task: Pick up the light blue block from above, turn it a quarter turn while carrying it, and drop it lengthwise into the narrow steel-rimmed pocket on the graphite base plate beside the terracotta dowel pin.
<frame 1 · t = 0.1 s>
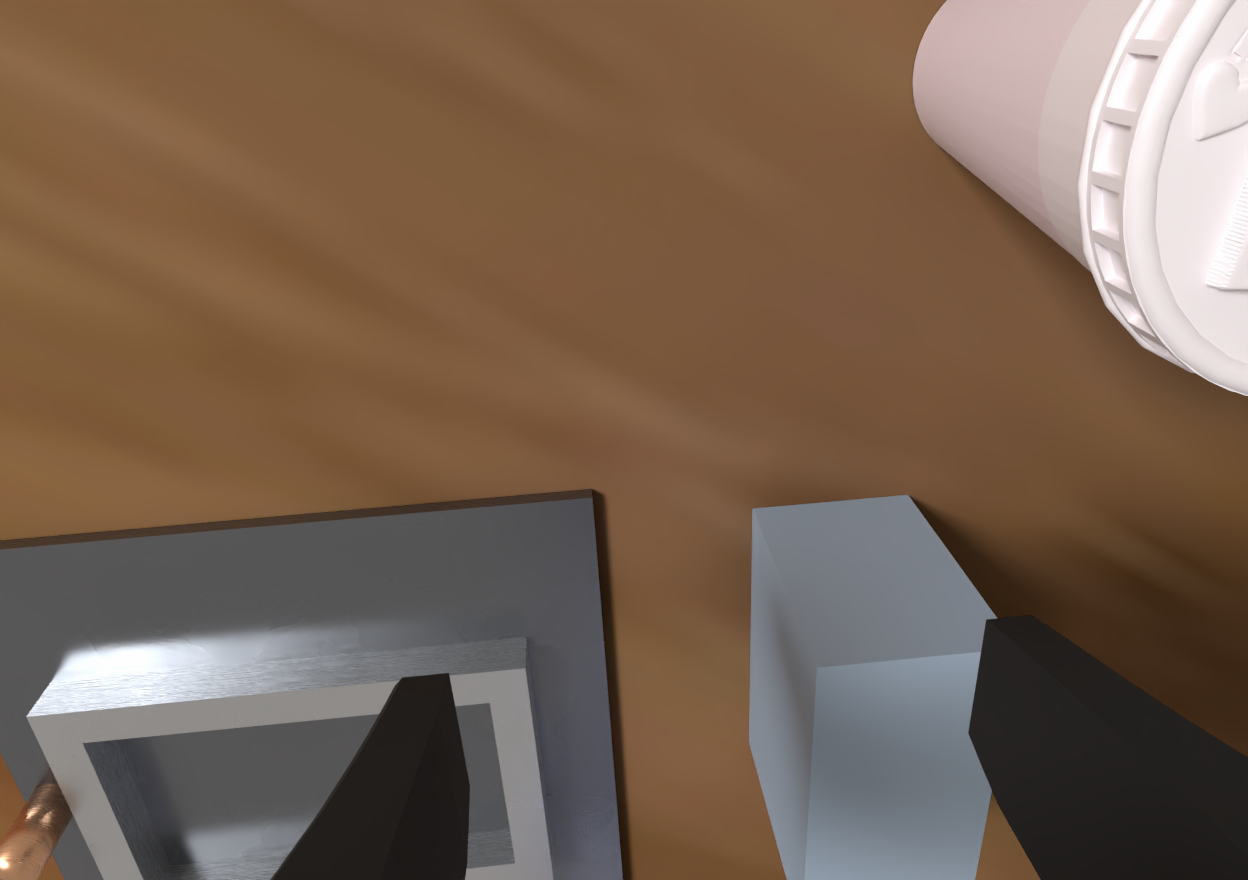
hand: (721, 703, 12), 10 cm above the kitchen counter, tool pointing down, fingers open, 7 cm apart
pocket plate: (326, 760, 25), on the kitchen counter
light blue block: (822, 625, 24), on the kitchen counter
smoothie: (997, 67, 18), on the kitchen counter
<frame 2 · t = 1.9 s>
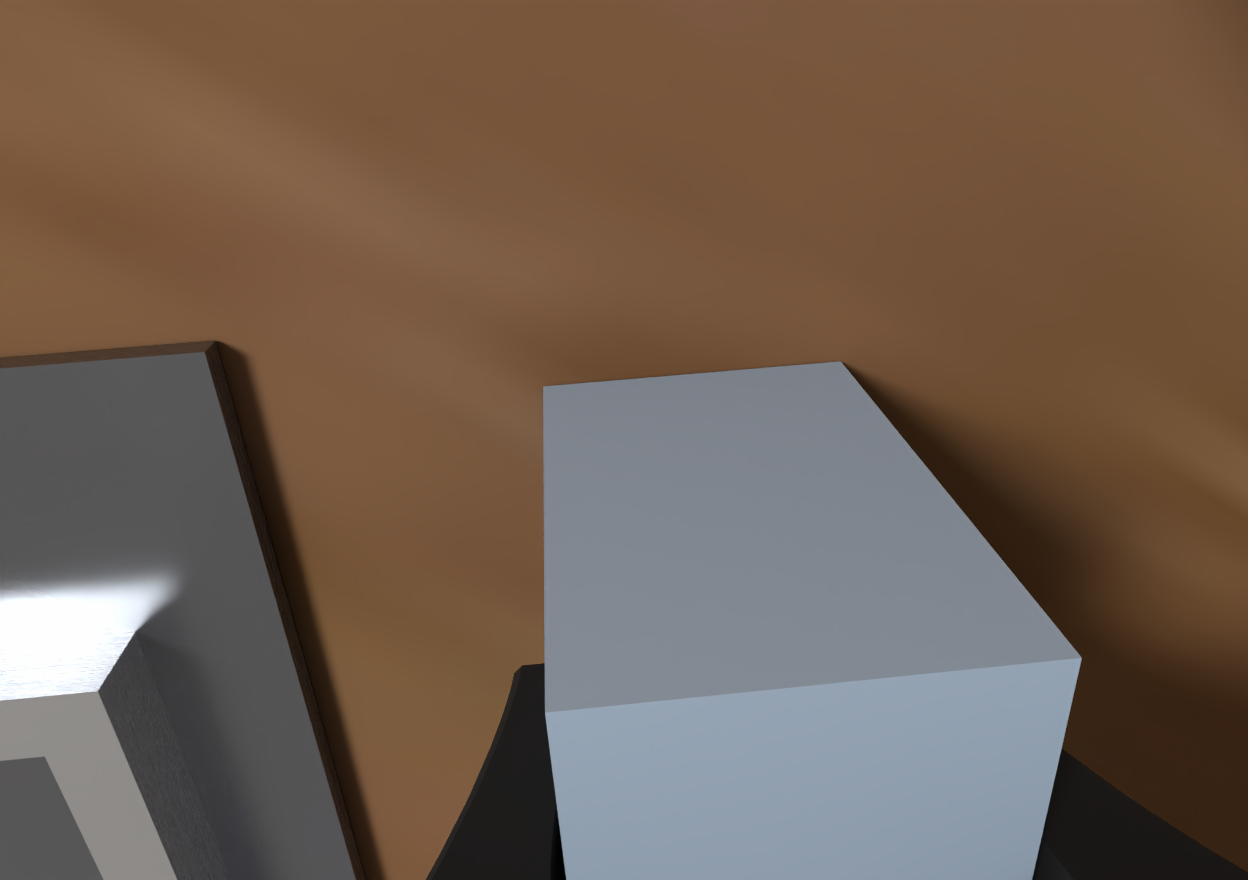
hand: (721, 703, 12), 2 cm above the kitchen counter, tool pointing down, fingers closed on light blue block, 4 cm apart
light blue block: (698, 614, 14), on the kitchen counter, touching gripper
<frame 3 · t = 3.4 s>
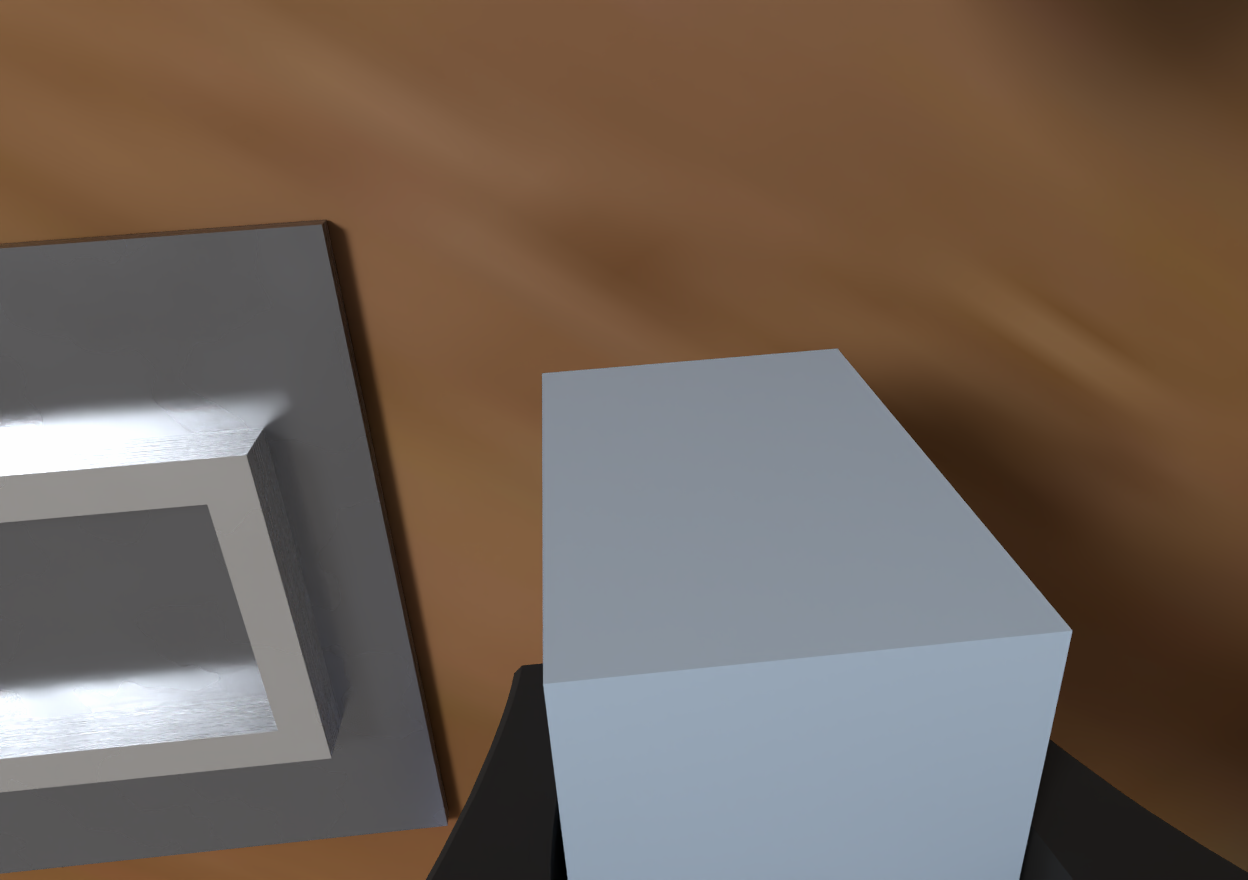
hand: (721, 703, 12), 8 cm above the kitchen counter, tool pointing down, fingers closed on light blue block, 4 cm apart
pocket plate: (40, 602, 20), on the kitchen counter
light blue block: (696, 601, 14), point 6 cm above the kitchen counter, touching gripper
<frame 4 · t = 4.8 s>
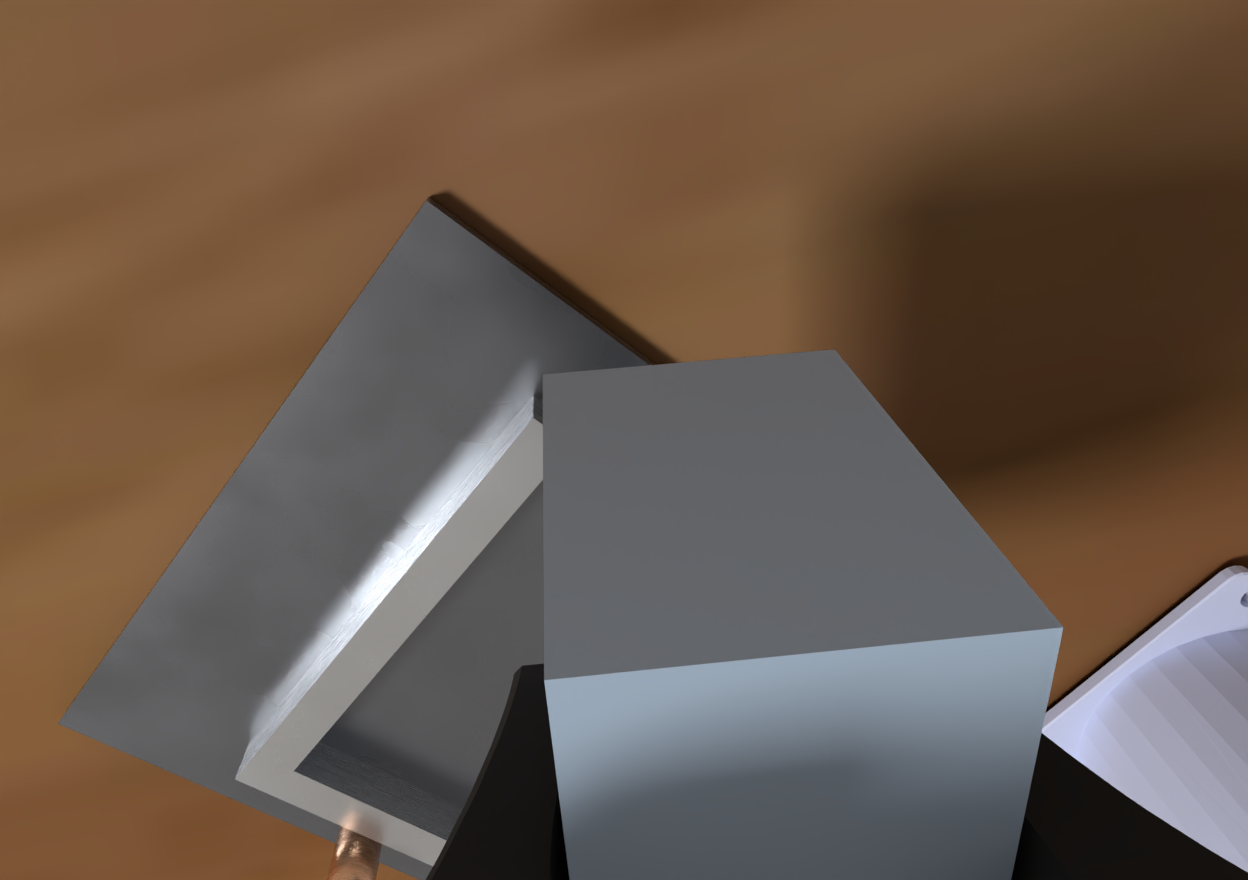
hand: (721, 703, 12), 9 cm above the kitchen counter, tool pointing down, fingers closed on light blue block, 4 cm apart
pocket plate: (519, 650, 22), on the kitchen counter
light blue block: (696, 600, 14), point 7 cm above the kitchen counter, touching gripper
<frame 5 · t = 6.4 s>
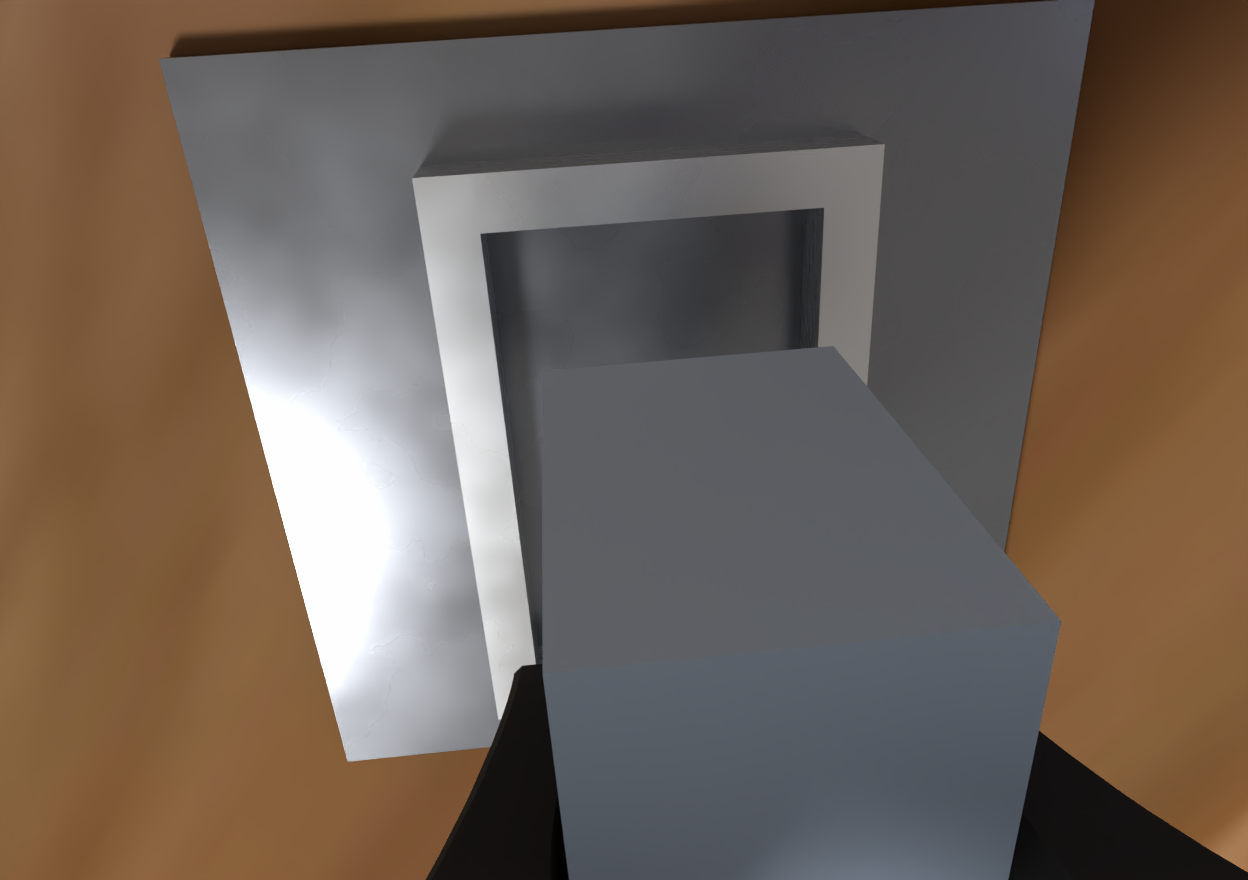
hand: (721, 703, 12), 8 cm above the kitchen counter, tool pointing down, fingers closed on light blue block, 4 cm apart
pocket plate: (655, 436, 19), on the kitchen counter
light blue block: (695, 597, 14), point 6 cm above the kitchen counter, touching gripper
when the fingers open (4 cm above the kitchen counter, at t = 7.6 s): light blue block drops 1 cm, resting on pocket plate.
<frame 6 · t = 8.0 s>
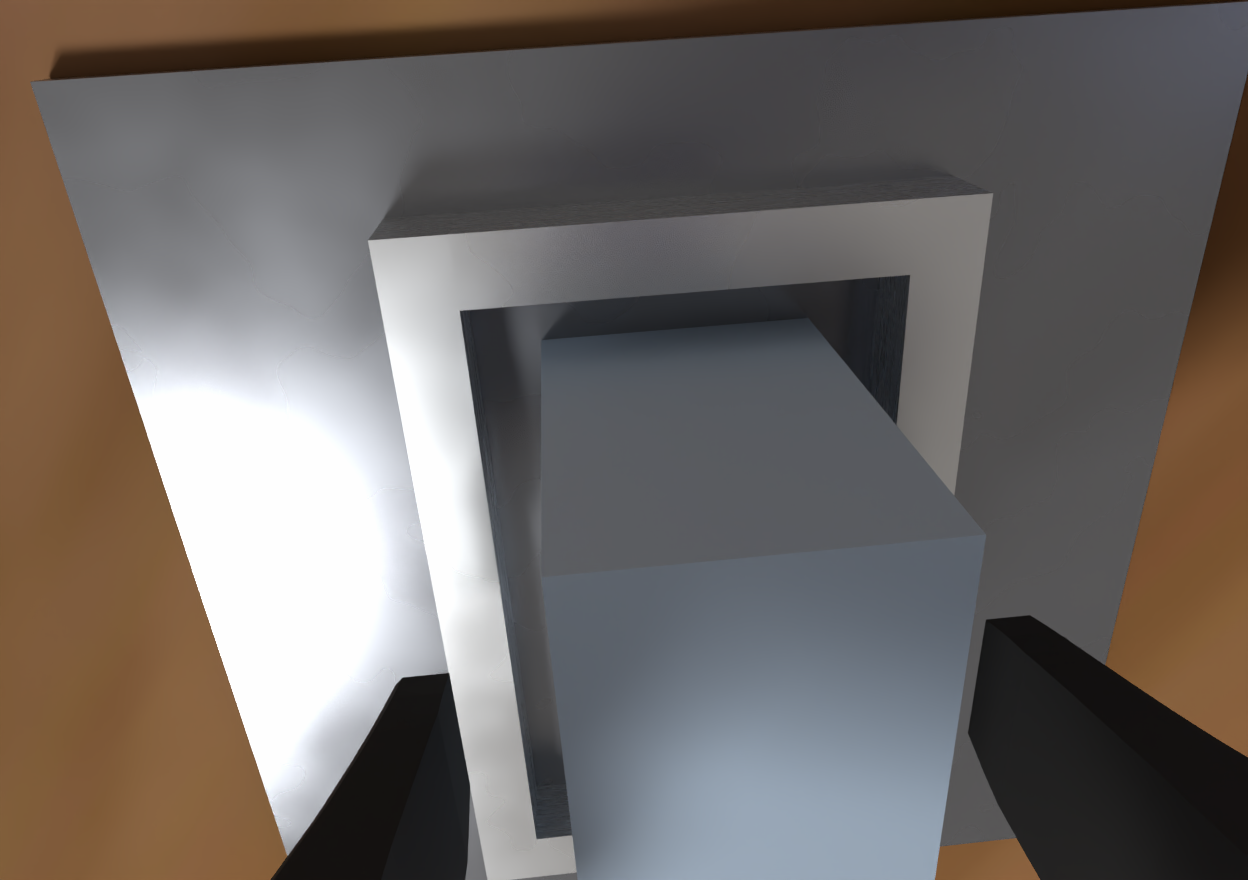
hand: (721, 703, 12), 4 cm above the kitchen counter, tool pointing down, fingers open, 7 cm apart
pocket plate: (681, 543, 15), on the kitchen counter
light blue block: (682, 553, 15), resting on pocket plate
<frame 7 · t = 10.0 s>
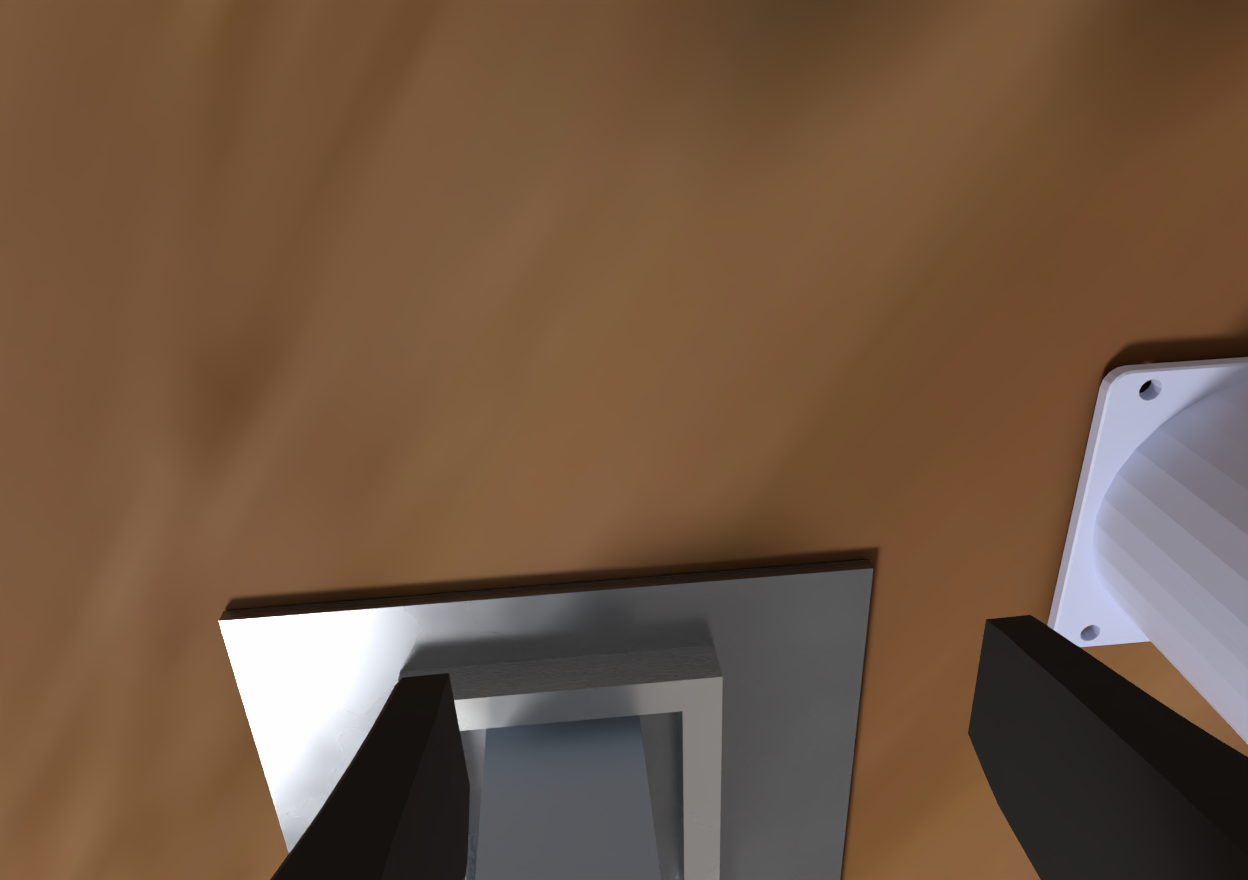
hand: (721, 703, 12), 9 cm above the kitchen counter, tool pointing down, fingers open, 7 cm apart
pocket plate: (573, 811, 26), on the kitchen counter
light blue block: (572, 821, 25), resting on pocket plate
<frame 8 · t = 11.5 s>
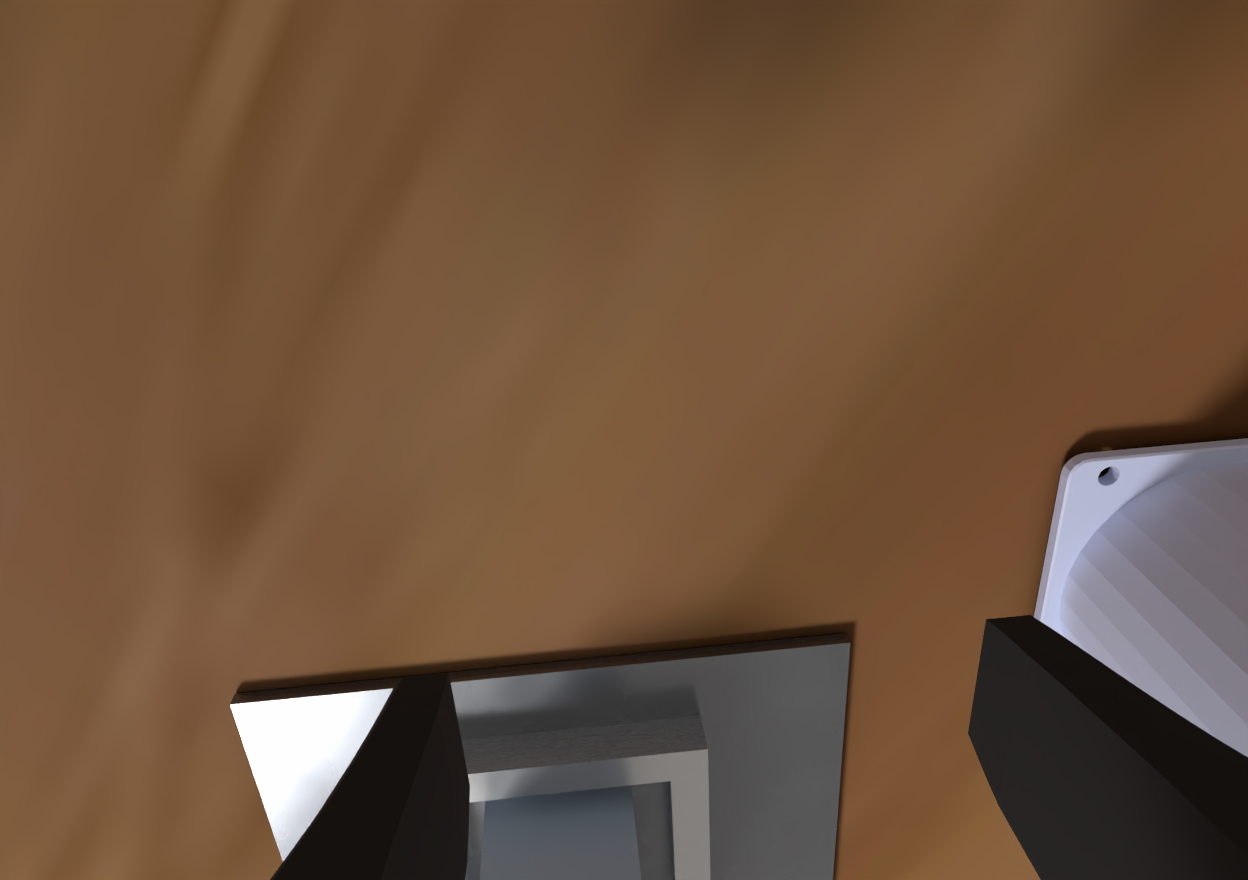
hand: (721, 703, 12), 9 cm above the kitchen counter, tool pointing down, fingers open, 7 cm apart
pocket plate: (570, 868, 27), on the kitchen counter
light blue block: (570, 878, 27), resting on pocket plate
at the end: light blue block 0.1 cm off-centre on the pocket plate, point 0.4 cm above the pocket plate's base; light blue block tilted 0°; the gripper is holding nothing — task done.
